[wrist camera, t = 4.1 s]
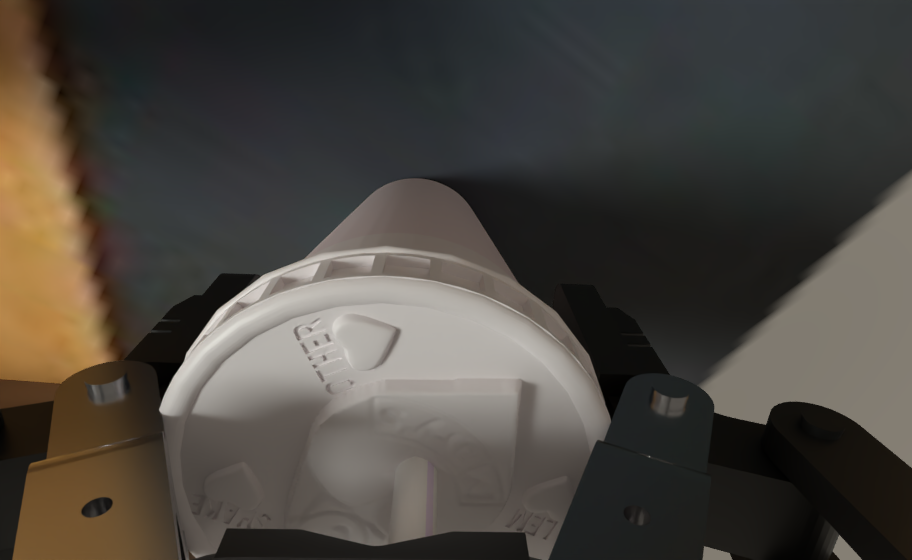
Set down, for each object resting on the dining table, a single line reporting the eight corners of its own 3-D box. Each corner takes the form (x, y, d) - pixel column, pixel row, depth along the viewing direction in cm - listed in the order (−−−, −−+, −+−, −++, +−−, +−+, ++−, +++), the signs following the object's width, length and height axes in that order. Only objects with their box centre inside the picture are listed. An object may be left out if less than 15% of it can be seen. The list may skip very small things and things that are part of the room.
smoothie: (574, 244, 17) (976, 937, 4) (417, 376, 19) (362, 1158, 6) (414, 74, 15) (259, 404, 2) (255, 240, 17) (-350, 963, 4)
